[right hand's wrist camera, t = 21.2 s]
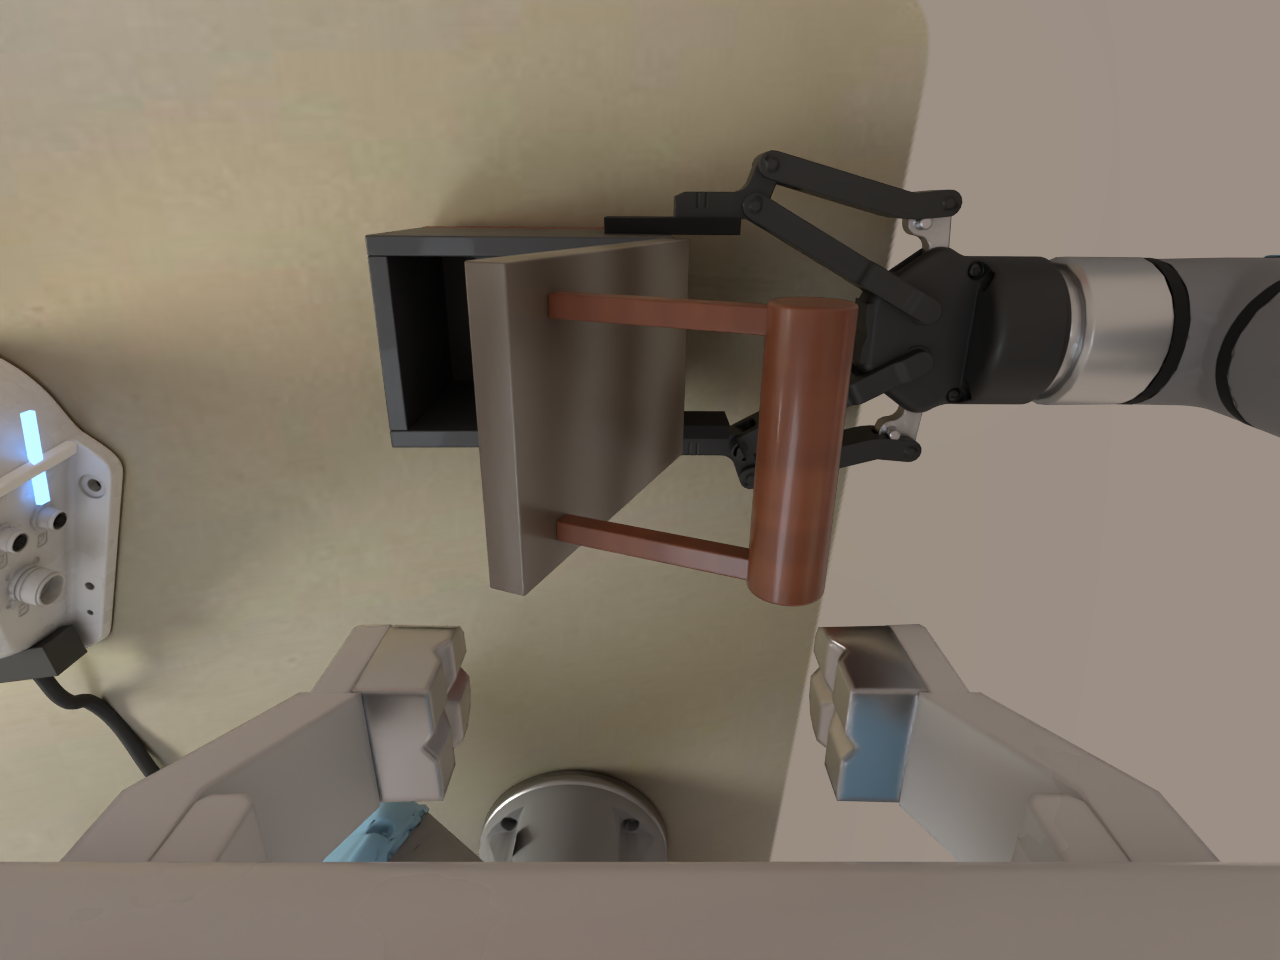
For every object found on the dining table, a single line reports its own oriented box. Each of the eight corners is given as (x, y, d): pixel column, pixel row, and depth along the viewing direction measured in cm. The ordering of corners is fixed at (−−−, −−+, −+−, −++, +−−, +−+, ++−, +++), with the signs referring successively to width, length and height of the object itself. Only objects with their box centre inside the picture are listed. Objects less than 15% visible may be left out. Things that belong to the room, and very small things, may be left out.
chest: (443, 390, 44) (391, 447, 33) (427, 226, 40) (364, 235, 30) (656, 390, 44) (669, 447, 34) (660, 228, 41) (675, 237, 30)
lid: (489, 588, 21) (805, 666, 18) (462, 260, 18) (849, 279, 14) (658, 450, 34) (866, 480, 30) (662, 238, 30) (899, 245, 27)
